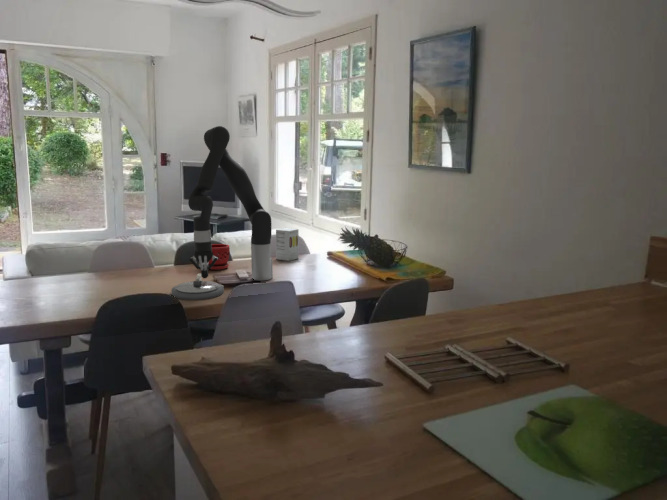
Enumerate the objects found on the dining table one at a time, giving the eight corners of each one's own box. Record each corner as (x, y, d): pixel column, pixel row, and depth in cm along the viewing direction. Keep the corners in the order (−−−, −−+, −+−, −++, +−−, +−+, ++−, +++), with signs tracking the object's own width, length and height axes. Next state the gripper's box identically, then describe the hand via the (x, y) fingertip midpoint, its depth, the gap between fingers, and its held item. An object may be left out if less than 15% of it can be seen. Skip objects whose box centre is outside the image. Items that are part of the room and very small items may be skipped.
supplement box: (288, 261, 314) (288, 231, 310) (275, 259, 319) (275, 229, 315) (299, 258, 322) (298, 228, 318) (286, 256, 326) (285, 227, 323)
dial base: (203, 283, 263) (203, 279, 263) (234, 292, 249) (233, 287, 249) (161, 293, 247) (161, 288, 247) (191, 302, 233) (191, 297, 232)
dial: (217, 292, 240) (217, 283, 239) (173, 294, 238) (173, 284, 237) (220, 281, 259) (219, 273, 258) (179, 282, 257) (178, 274, 256)
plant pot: (235, 267, 298) (234, 244, 296) (217, 272, 287) (216, 248, 285) (216, 264, 305) (216, 242, 303) (198, 268, 294) (198, 245, 292)
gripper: (219, 238, 256) (221, 275, 259) (190, 238, 256) (192, 276, 260) (215, 241, 248) (218, 280, 252) (185, 241, 249) (188, 280, 252)
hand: (204, 277), depth 256 cm, fingers closed
